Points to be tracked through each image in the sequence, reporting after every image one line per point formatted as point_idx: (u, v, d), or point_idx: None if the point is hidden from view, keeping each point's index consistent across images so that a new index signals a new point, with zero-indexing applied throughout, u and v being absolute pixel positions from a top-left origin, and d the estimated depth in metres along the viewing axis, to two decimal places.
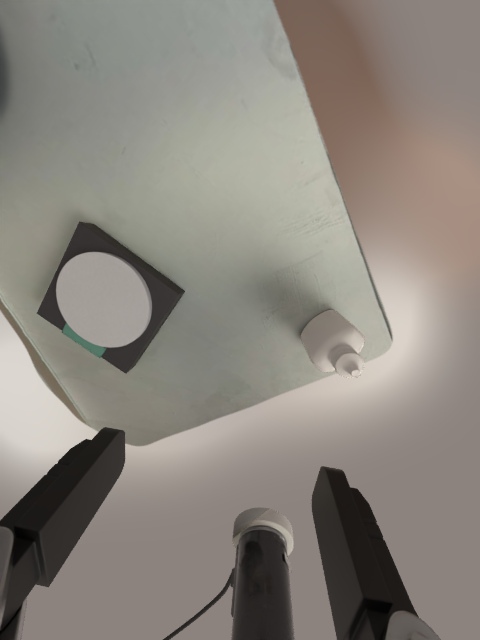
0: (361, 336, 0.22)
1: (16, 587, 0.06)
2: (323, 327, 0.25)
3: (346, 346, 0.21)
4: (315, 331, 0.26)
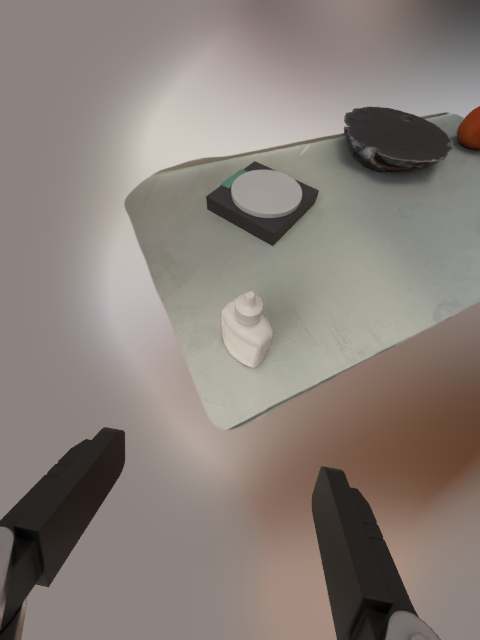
0: (265, 339, 0.21)
1: (16, 587, 0.06)
2: None
3: None
4: None
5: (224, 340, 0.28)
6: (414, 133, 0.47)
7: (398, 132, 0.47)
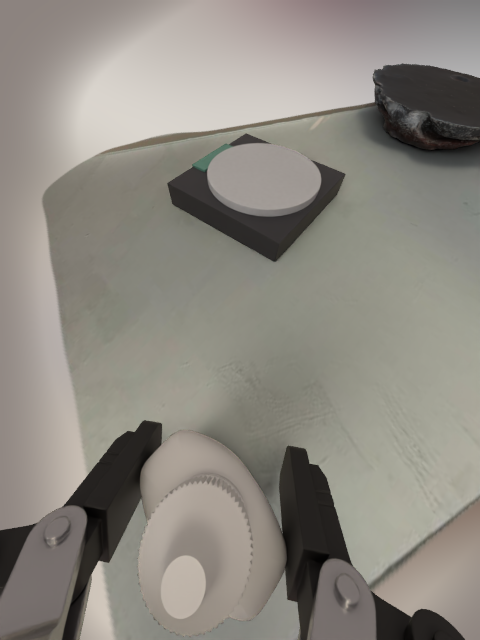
0: (263, 601, 0.07)
1: (88, 559, 0.06)
2: (250, 473, 0.10)
3: None
4: None
5: None
6: (474, 95, 0.33)
7: (452, 93, 0.33)
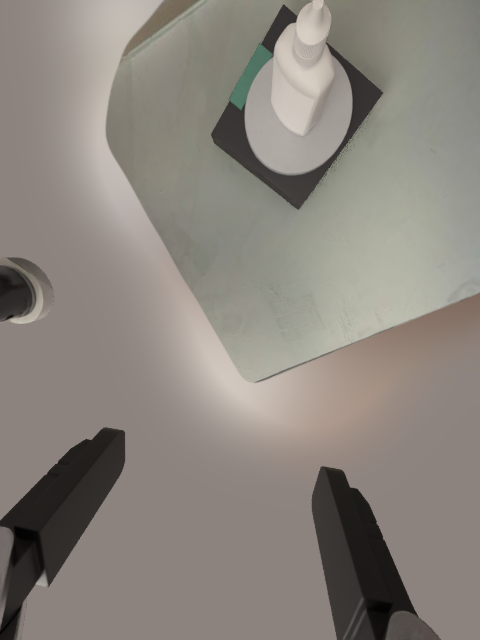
0: (325, 84, 0.19)
1: (16, 587, 0.06)
2: None
3: (324, 42, 0.17)
4: None
5: (273, 100, 0.25)
6: None
7: None
